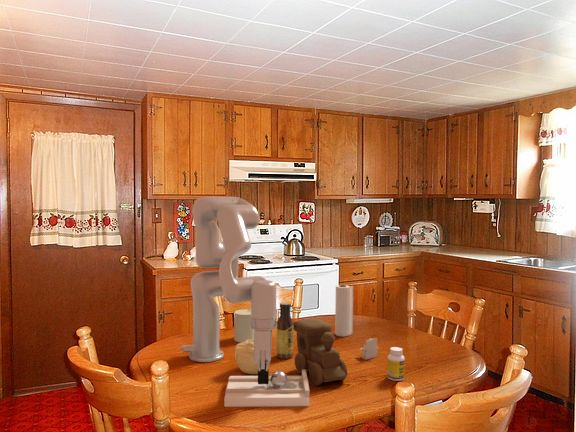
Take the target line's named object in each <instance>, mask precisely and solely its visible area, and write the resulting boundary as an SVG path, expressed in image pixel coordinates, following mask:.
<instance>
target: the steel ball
mask: <svg viewBox="0 0 576 432" xmlns="http://www.w3.org/2000/svg"><path fill="white" fill-rule="evenodd" d="M270 376H271V384H272V386H273V387H275V388H277V389H281V388H283V387H285V385H286V384H287V376H288V375H287V373H285V372H284V371H281V370H278V371H277V370H276V371H274V372H273V373H272V375H270Z"/></svg>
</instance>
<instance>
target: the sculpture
mask: <svg viewBox="0 0 576 432" xmlns="http://www.w3.org/2000/svg"><path fill="white" fill-rule="evenodd" d="M234 360H235V362H236V363H237V365H238V368H239V369H240V370H241V372H243V373H244V374H248V375H258V369H259V363H256V364H254V363H253V360H254V340H248V339H247V340H246V341H244V342H242V343H240V342H238V343H237V344H236V345H235V349H234ZM271 360H272V356H271V357H270V363H269V364H268V367H270V365H271Z"/></svg>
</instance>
